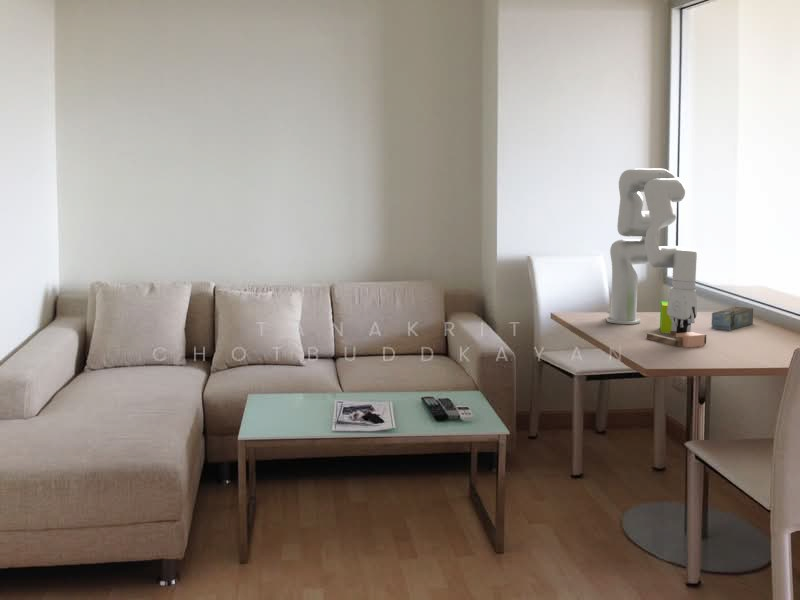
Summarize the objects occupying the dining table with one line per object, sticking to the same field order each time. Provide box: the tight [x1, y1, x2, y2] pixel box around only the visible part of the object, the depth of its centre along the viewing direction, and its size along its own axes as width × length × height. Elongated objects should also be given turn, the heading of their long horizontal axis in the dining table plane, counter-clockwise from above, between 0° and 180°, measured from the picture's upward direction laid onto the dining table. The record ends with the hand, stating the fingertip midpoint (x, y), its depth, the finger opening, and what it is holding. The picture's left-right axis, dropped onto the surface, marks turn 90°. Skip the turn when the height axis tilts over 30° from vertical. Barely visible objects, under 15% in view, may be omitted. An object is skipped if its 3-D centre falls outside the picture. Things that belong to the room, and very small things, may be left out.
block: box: [676, 331, 706, 348], centre depth 324 cm, size 6×7×4 cm
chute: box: [646, 331, 707, 348], centre depth 331 cm, size 16×12×3 cm
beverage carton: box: [711, 306, 754, 331], centre depth 360 cm, size 8×19×7 cm, turn 135°
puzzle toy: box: [659, 301, 692, 334], centre depth 350 cm, size 10×10×10 cm
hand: (681, 338), depth 329 cm, fingers closed
